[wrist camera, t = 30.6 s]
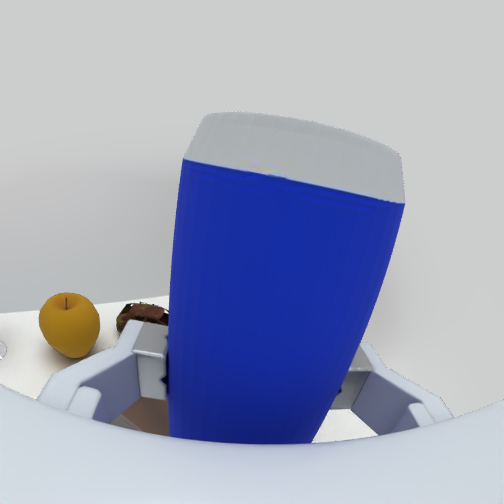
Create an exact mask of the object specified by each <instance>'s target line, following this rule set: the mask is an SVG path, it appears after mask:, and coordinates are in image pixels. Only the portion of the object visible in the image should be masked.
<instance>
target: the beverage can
mask: <svg viewBox="0 0 504 504" xmlns="http://www.w3.org/2000/svg"><path fill="white" fill-rule="evenodd" d="M404 206H405V194H404V182H403V171H402V162H401V157H400V155H399V153H397V152H396V151H395V150H393V149H392V148H390V147H388V146H387V145H385V144H383V143H380V142H378V141H376V140H373V139H371V138H368V137H366V136H363V135H360V134H357V133H354V132H351V131H348V130H344V129H341V128H338V127H334V126H330V125H326V124H322V123H317V122H313V121H308V120H304V119H299V118H293V117H287V116H280V115H272V114H263V113H251V112H221V113H220V112H219V113H212V114H208V115H206V116H204V118H203V119H202V121H201V123H200V125H199V127H198V129H197V131H196V133H195V135H194V137H193V139H192V141H191V143H190V145H189V147H188V149H187V151H186V153H185V155H184V158H183V162H182V170H181V177H180V184H179V192H178V201H177V210H176V219H175V229H174V240H173V252H172V265H171V281H170V297H169V321H168V415H169V437H175V438H182V439H190V440H199V441H208V442H220V443H235V444H308V443H311V442H312V440H313V439H314V437H315V435H316V433H317V432H318V430H319V428H320V426H321V424H322V422H323V421H324V419H325V417H326V415H327V413H328V411H329V409H330V407H331V405H332V403H333V401H334V399H335V397H336V395H337V393H338V391H339V389H340V387H341V385H342V383H343V381H344V379H345V376H346V374H347V372H348V370H349V368H350V365H351V363H352V361H353V359H354V356H355V354H356V352H357V349H358V347H359V345H360V342H361V340H362V337H363V335H364V332H365V329H366V327H367V325H368V322H369V319H370V317H371V314H372V311H373V309H374V306H375V303H376V301H377V298H378V295H379V292H380V289H381V286H382V283H383V280H384V277H385V274H386V271H387V268H388V264H389V261H390V258H391V255H392V251H393V248H394V244H395V241H396V237H397V234H398V230H399V226H400V222H401V218H402V214H403V210H404Z"/></svg>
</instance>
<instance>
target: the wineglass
mask: <svg viewBox="0 0 504 504" xmlns="http://www.w3.org/2000/svg"><path fill="white" fill-rule="evenodd" d="M5 354H6V346H5V344H4V343H2V342H0V359H1V358H2V357H3V356H4V355H5Z"/></svg>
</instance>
